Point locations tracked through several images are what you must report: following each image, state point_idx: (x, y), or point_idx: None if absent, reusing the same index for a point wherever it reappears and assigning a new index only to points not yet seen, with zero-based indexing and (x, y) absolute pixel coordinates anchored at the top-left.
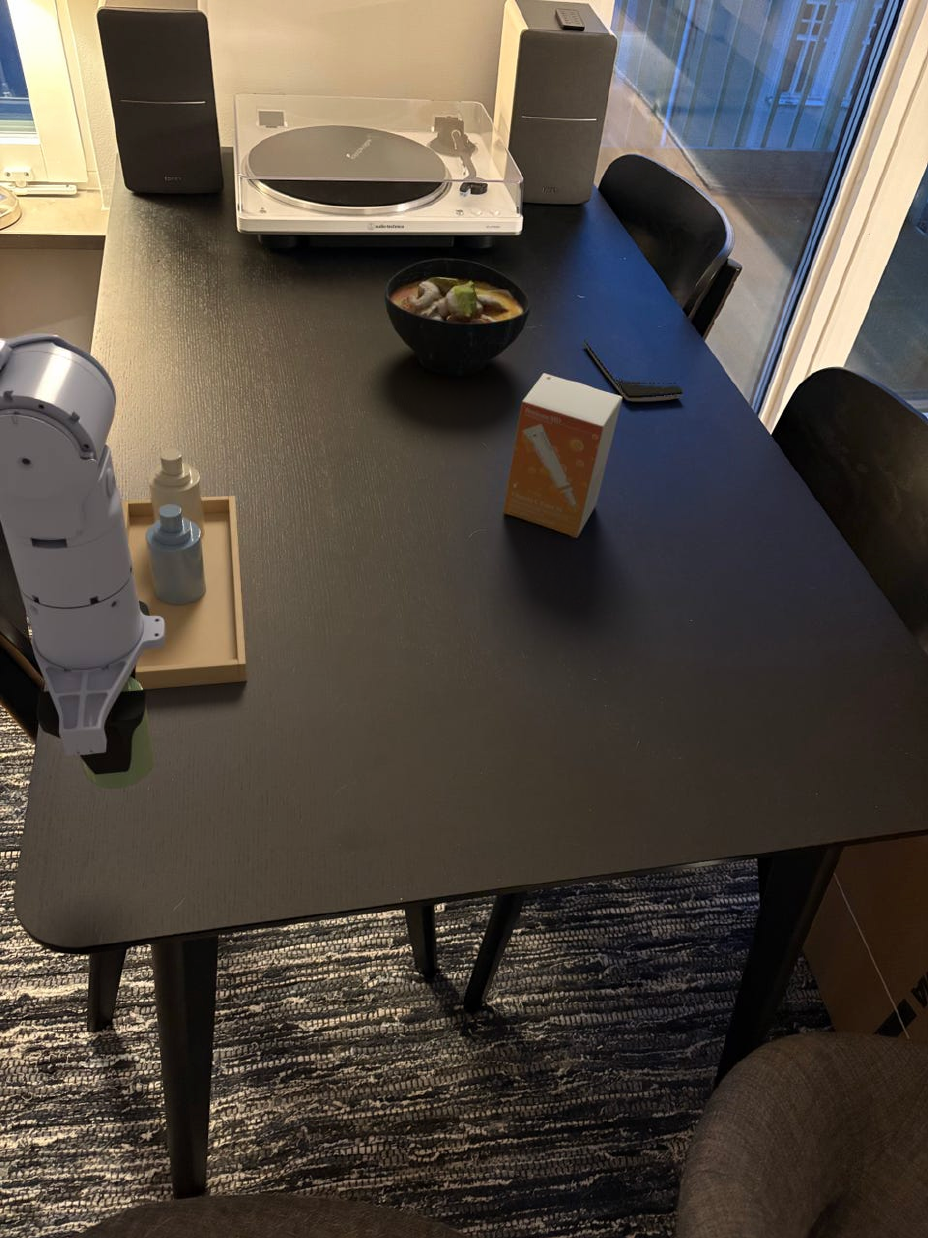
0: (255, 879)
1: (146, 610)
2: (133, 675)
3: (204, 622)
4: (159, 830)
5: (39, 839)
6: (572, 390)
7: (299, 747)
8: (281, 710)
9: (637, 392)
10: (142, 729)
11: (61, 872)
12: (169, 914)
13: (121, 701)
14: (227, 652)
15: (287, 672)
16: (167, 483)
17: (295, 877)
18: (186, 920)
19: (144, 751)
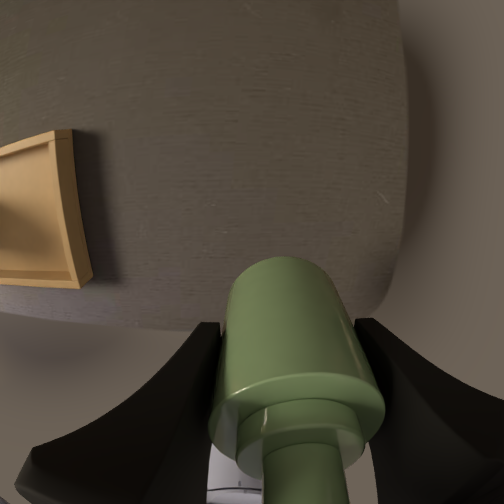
0: (368, 115)
1: (45, 502)
2: (197, 378)
3: (8, 190)
4: (287, 218)
5: None
6: None
7: (176, 54)
8: (116, 81)
9: None
10: (338, 327)
11: None
12: (391, 207)
13: (496, 483)
14: (37, 158)
15: (64, 84)
16: None
17: (371, 73)
18: (401, 191)
19: (327, 293)
